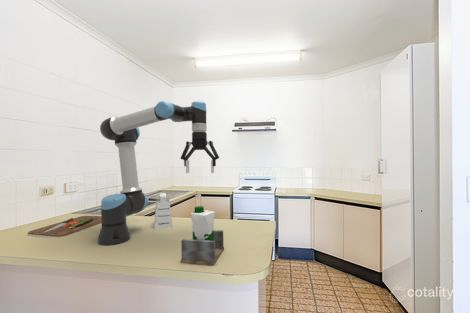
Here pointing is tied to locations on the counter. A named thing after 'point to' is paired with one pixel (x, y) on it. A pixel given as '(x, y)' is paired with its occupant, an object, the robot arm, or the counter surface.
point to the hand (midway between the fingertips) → (200, 172)
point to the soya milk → (203, 224)
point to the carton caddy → (202, 250)
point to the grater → (162, 212)
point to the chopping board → (66, 227)
